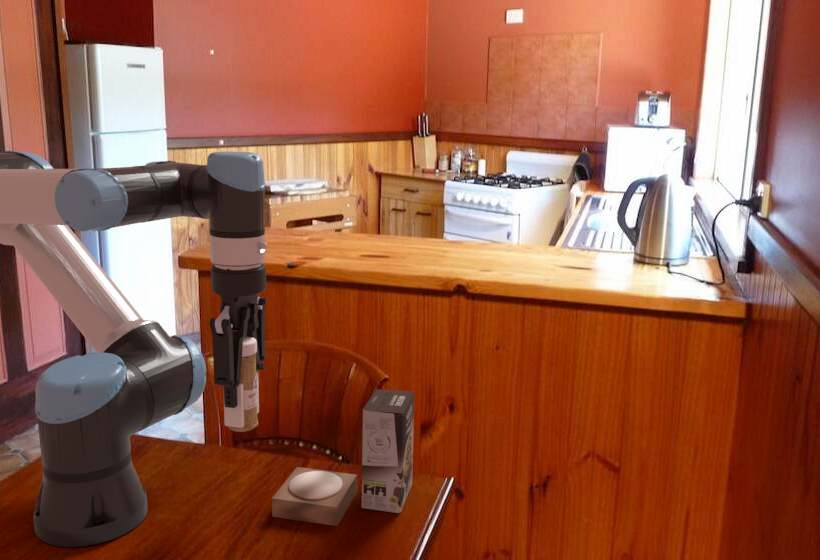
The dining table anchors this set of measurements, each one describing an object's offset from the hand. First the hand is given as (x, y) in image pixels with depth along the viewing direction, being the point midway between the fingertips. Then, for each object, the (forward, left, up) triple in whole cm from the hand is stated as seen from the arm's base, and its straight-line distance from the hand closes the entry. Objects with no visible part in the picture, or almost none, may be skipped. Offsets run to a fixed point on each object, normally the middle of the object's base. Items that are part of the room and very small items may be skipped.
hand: (242, 418), depth 108 cm
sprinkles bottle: (0, 0, -1) cm, 1 cm away
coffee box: (+20, +8, -14) cm, 26 cm away
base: (+10, +3, -14) cm, 18 cm away
